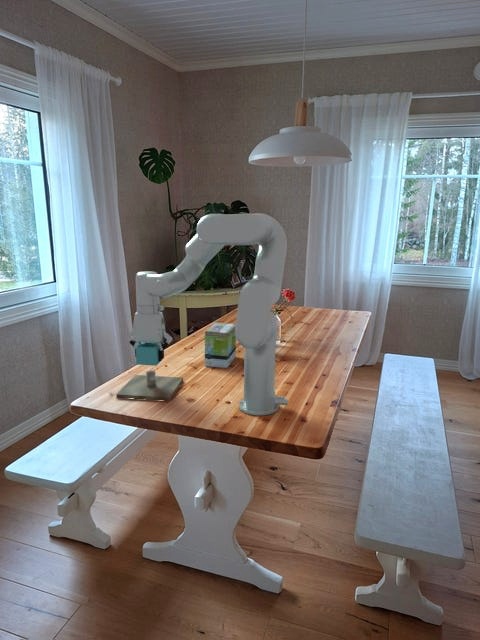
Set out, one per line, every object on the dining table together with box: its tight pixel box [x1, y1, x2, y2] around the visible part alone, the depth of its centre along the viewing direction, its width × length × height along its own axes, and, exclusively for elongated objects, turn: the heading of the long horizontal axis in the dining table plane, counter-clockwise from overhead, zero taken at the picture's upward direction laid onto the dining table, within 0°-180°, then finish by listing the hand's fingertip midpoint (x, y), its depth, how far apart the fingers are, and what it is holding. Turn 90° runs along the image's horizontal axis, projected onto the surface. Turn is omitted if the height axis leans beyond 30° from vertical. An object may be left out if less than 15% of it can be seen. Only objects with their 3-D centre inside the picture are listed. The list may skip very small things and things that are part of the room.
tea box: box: [204, 322, 237, 369], centre depth 183 cm, size 15×10×15 cm, turn 168°
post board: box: [115, 370, 184, 402], centre depth 155 cm, size 18×18×6 cm
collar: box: [135, 342, 160, 367], centre depth 152 cm, size 7×7×6 cm
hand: (149, 359), depth 153 cm, fingers closed on collar, 7 cm apart
